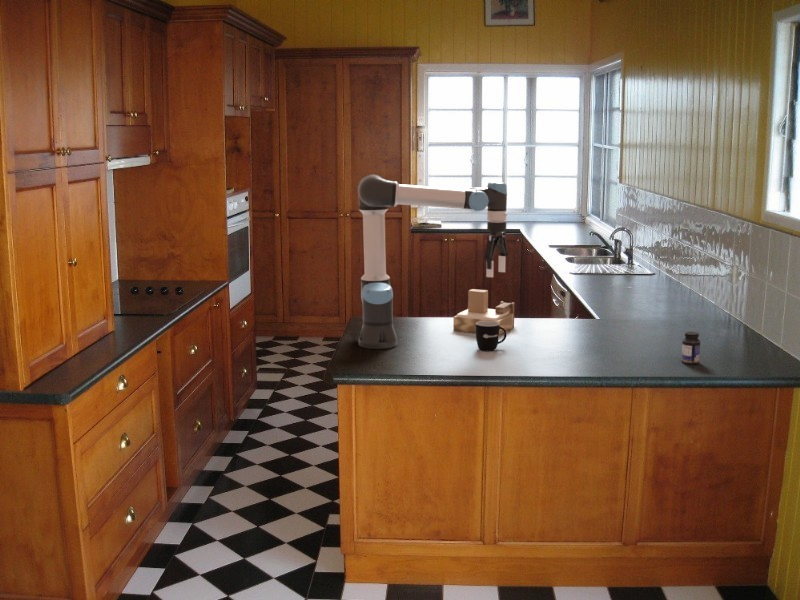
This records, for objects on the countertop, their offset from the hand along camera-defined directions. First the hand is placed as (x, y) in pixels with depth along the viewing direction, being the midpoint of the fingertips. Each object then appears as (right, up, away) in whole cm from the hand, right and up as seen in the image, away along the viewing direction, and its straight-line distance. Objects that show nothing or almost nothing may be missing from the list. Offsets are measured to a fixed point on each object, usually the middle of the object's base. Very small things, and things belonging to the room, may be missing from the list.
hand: (495, 274), depth 356 cm
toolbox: (-3, -22, +14) cm, 26 cm away
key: (+5, -15, +13) cm, 20 cm away
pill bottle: (+66, -33, -39) cm, 83 cm away
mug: (-4, -29, -19) cm, 35 cm away
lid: (-4, -17, +12) cm, 21 cm away
